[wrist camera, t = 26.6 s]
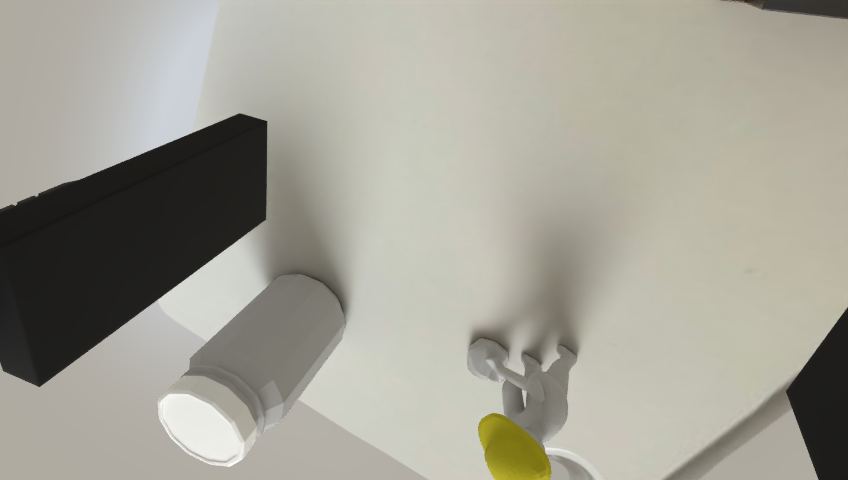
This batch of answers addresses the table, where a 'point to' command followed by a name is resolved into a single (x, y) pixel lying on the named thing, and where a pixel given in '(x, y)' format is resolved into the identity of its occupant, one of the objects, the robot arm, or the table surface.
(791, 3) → the book rack
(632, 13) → the table surface
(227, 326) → the jar
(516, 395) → the figurine
